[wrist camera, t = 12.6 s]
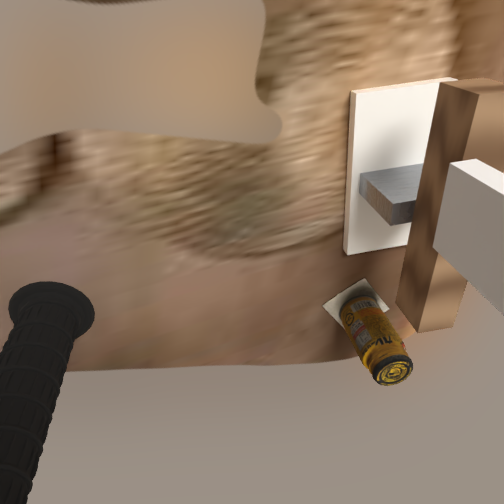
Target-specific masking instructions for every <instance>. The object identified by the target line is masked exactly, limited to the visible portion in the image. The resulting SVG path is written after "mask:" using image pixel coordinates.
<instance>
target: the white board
mask: <svg viewBox="0 0 504 504" xmlns="http://www.w3.org/2000/svg"><path fill="white" fill-rule="evenodd" d="M456 80H458V79H454V78H450V77H447V78H440V79H432V80H425V81H418V82H411V83H403V84H396V85H389V86H382V87H375V88H367V89H360V90H353V91H351V97H350V117H349V138H348V158H347V179H346V199H345V220H344V240H343V250H344V251H345V253H346V254H347V255H351V254H357V253H362V252H368V251H374V250H379V249H385V248H391V247H396V246H402V245H407V242H408V237H409V233H410V228H411V223H412V222H410V223H405V224H399V225H393V226H390V225H389V224H388V223H387V222H386V221H385V220H384V219H383V218H382V217H381V216H380V215H379V214H378V213H377V212H376V211H375V209H374V208H373V207H372V206H371V205H370V204H369V203H368V202H367V201H366V200H365V199H364V198H363V197H362V196H361V195H360V194H359V183H360V173H364V172H371V171H377V170H383V169H390V168H396V167H402V166H409V165H415V164H421V163H424V158H425V153H426V148H427V143H428V138H429V133H430V128H431V123H432V118H433V113H434V109H435V104H436V99H437V94H438V89H439V84H440V82H446V81H456Z"/></svg>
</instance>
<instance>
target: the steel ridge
mask: <svg viewBox="0 0 504 504" xmlns="http://www.w3.org/2000/svg"><path fill="white" fill-rule="evenodd" d="M422 168H423V163H421V164H415V165H409V166H402V167H396V168H390V169H383V170H377V171H371V172H364V173H360V183H359V194H360V195H361V196H362V197H363V198H364V199H365V200H366V201H367V202H368V203H369V204H370V205H371V206H372V207H373V208H374V209H375V211H376V212H377V213H378V214H379V215H380V216H381V217H382V218H383V219H384V220H385V221H386V222H387V223H388V224H389V225H390V226H393V225H399V224H405V223H410V222H412V218H413V213H414V208H415V203H416V198H417V193H418V188H419V183H420V178H421V173H422Z"/></svg>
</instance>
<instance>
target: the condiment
mask: <svg viewBox="0 0 504 504" xmlns="http://www.w3.org/2000/svg"><path fill="white" fill-rule="evenodd" d="M322 306H323V307H324V308H325V309H326V310H327V311H328V312H329V313H330V314H331V316H332V317H333V318H334V319H335V320H336V321H337V322H338V323H339V324H340V325H341V326H342V327H343V328H344V329H345V331H346V333H347V335H348V336H349V338H350V340H351V342H352V344H353V346H354V348H355V350H356V352H357V354H358V356H359V357H360V360H361V361H362V364H363V365H364V366H365V367H366V368H367V369H369V371H370V373H371V374H372V376H373V379H374V380H375V381H376V382H377V383H378V384H380V385H385V386H389V385H394V384H398V383H400V382H402V381H403V380H405V379H406V378H407V377H408V376H409V375H410V374H411V372H412V370H413V363H412V361H411V359H410V358H409V357H408V354H407V352H406V349H405V345H404V343H403V341H402V340H401V338H400V337H399V335H398V333H397V332H396V331H395V329H394V328H393V326H392V325H391V323H390V322H389V320H388V318H387V317H386V315H385V314H384V312H386V311H387V310H389V308H388V307H387V306H386V304H385V303H384V302H383V301H382V299H381V298H380V297H379V296H378V294H377V293H376V292H375V291H374V289H373V288H372V287H371V285H370V284H369V283H368V282H367V280H366V279H365V278H364V279H362V280H361V281H358V282H357V283H355V284H354V285H352V286H351V287H349V288H347V289H346V290H344V291H343V292H341V293H339V294H338V295H337V296H336V297H334V298H333V299H331V300H329V301H328V302H327V303H325V304H324V305H322Z"/></svg>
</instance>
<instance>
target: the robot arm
mask: <svg viewBox="0 0 504 504" xmlns="http://www.w3.org/2000/svg"><path fill="white" fill-rule="evenodd" d="M433 248H434V249H435V250H436V251H437V252H438V253H439V254H440V255H441V256H442V257H443V258H444V259H445V260H446V261H447V262H449V263H450V264H451V265H452V266H453V267H454V268H455V269H456V270H457V271H458V272H459V273H460V274H461V275H462V276H463V277H464V278H465V279H466V280H467V281H468V282H469V283H471V285H473V286H474V287H475V288H476V289H477V290H478V291H479V292H480V293H481V294H482V295H483V296H484V297H485V298H486V299H487V300H488V301H489V302H490V303H491V304H492V305H493V306H494V307H495V308H496V309H498V310H499V311H500V312H501V313H502V314H503V315H504V173H502V172H500V171H498V170H496V169H495V168H493V167H491V166H489V165H487V164H485V163H483V162H481V161H479V160H478V159H471V160H465V161H459V162H452V163H450V164H449V169H448V174H447V179H446V184H445V189H444V194H443V199H442V203H441V208H440V213H439V218H438V223H437V228H436V233H435V238H434V242H433Z"/></svg>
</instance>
